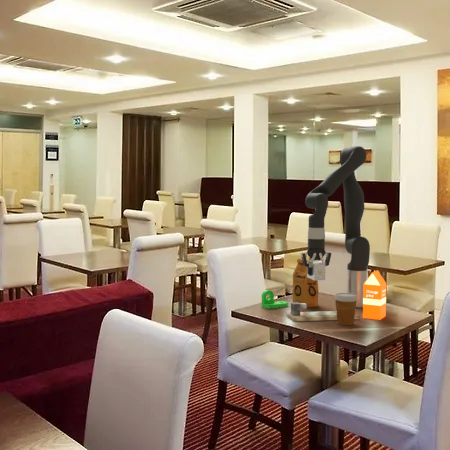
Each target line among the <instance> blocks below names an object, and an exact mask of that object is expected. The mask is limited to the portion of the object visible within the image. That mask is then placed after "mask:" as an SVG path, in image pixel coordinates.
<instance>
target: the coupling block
mask: <svg viewBox="0 0 450 450" xmlns="http://www.w3.org/2000/svg"><path fill="white" fill-rule="evenodd" d="M307 264H308V262H307ZM311 268H312V275H311V276H309V274H308V273H307V277H308V278H310V279H312V280H318V281H326V266H325V264H323V263H320V262H319V261H314V262H313V263H312V266H311Z"/></svg>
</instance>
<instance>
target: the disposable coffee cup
mask: <svg viewBox="0 0 450 450" xmlns="http://www.w3.org/2000/svg"><path fill="white" fill-rule="evenodd" d="M333 299H334V300H335V301H334V302H335V309H336V310H335V311H337V320H336V321H337V324H338V325H339V326H340V325H341V326H353V325H354V322H355V319H354V316H355V314H356V309H357V307H356V302H357V299H358V298H357V295H356V294H351V293H347V292H340V293H339V292H337V293H335V295H334V298H333Z"/></svg>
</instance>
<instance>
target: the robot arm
mask: <svg viewBox="0 0 450 450" xmlns="http://www.w3.org/2000/svg"><path fill="white" fill-rule="evenodd" d="M366 160H367V152H366V149H365V148H364V147H363V146H359V145H357V146H356V145H355V146H348V147H346V146H345V147H344V148H342V150H341V151H340V155H339V162H340V166H339V167H338V168H336V169H335V170H334V171H332V172H331V173H329V174H328V175H327V176H326V177H325V178H324V180H322V182H321V183H320V184H319V185H318V186H316V187H315V188H314V189H312V190H311V191H310V192H309V193H308V194H306V197H305V201H304V203H305V206H306V207H307V208H308V209H312V210H314V213H313V214H310V215H309V216H308V230H307V250H306V251H305V252H301V253H300V256H301V259H302V261H303V265H304V266H307V273H308V274H309V276H311V275H312V268H311V266H312V263H313V262H315V261H318V262H320V263H323V264H325V267H327V266H329V265H330V262H331V257H332V252H330V251H326V250H325V249H326V245H325V244H326V241H325V240H326V234H325V233H326V230H325V218H326V214H327V211H328V207H329V198H328V197H330V196H332V195H333V194H334V193H335V192H336V191H337V189H338V188H339V187H340V186H341V185H343V204H344V217H345V218H344V219H345V233H344V234H345V237H344V247H345V250H346V252H347V253H349V254H350V255H351V256H350V260H349V262H348V263H347V267H346V271H347V272H346V293H351V294H356V295H357V298H358V299H357V302H356V308H363V285H364V283H365V282H366V280H367V279H368V266H369V264H370V252H371V248H370V247H371V245H370V241H369V240H368V239H367V238H366V237H364V236H362V235H361V222H362V218H363V216H364V212H365V195H364V194H365V193H364V191H363V189H362V187H361V185H360V184H359V182H358V180H357V178H356V175H355V174H356V173H355V171H357V170H358V169H359V168H360V167H361V166H363V164H364V163H365V162H366ZM324 256H325V260H324ZM307 257H309V258H308V264H307Z"/></svg>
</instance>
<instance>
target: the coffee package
mask: <svg viewBox="0 0 450 450" xmlns="http://www.w3.org/2000/svg"><path fill="white" fill-rule="evenodd" d="M306 260H307V259H306ZM308 260H309V259H308ZM308 260H307V262H308ZM296 262H297V264H296V267H295V268H294V271H293V272H292V302H298V303H305V304H307V308H316V307H318V306H319V292H320V291H319V280H312V279H310V278H308V277H307V266H304V265H303V261H302V258H297V260H296Z"/></svg>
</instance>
